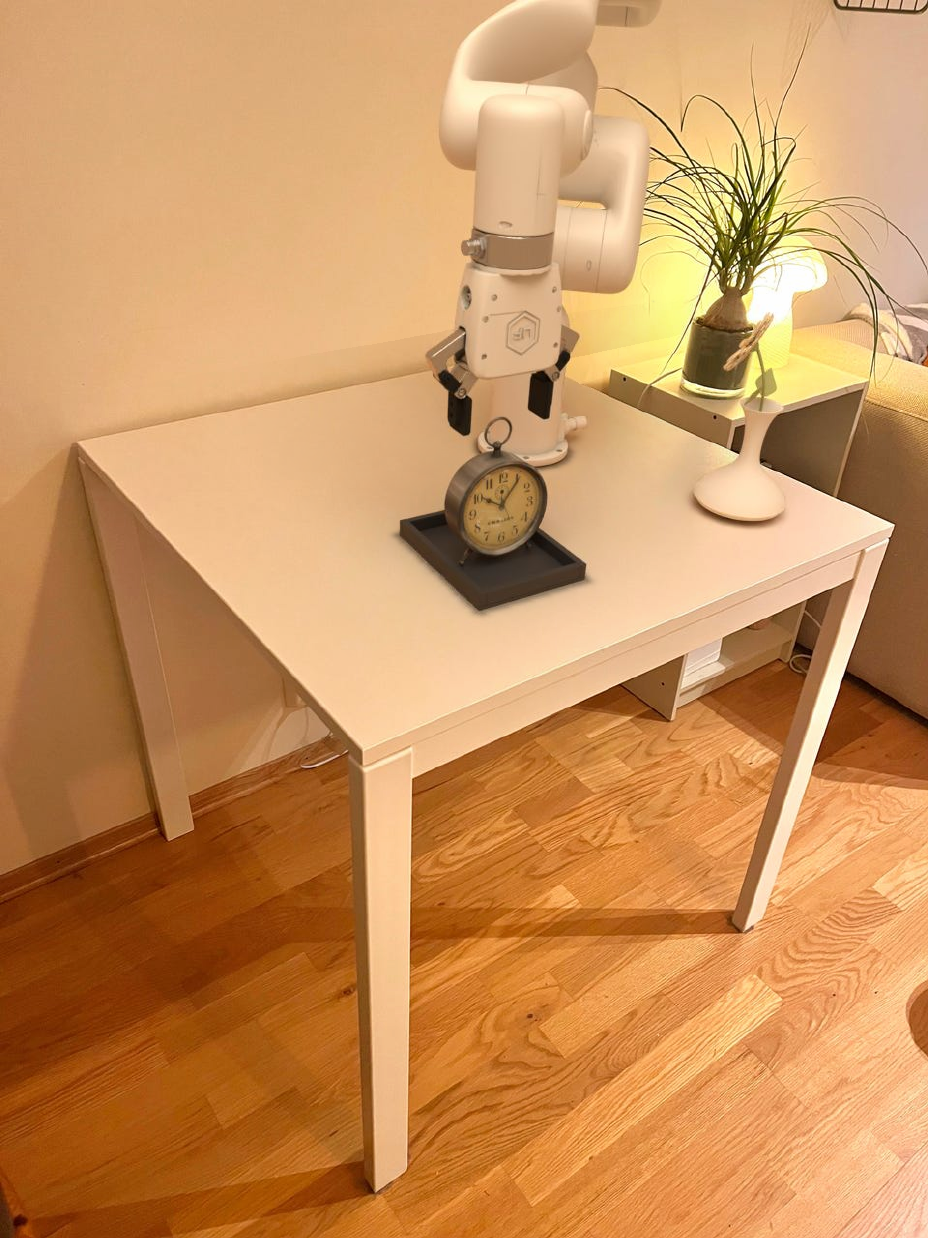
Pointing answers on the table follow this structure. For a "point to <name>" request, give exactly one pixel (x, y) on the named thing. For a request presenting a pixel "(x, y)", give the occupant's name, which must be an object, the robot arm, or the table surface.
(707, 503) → the flower in vase
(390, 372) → the table surface
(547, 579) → the tray
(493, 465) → the alarm clock
